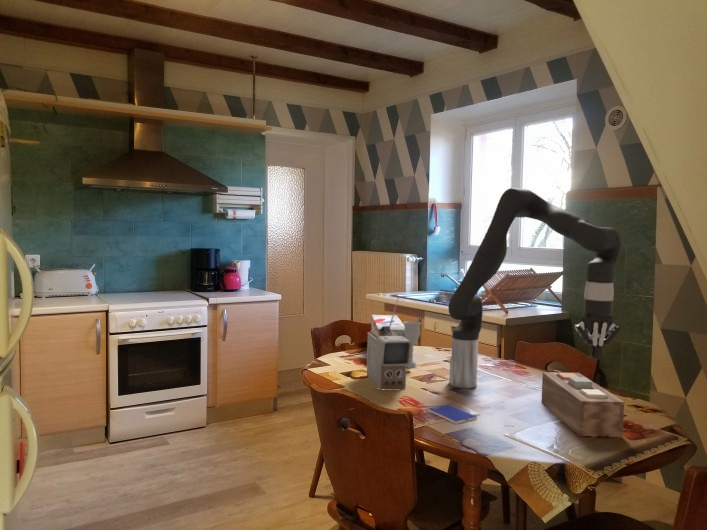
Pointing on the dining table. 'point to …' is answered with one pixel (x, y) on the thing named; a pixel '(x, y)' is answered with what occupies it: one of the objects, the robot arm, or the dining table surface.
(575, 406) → the keypad console
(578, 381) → the slate key
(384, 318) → the soda pack
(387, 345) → the portable television
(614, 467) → the dining table surface
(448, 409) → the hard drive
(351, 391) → the dining table surface
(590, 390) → the ivory key
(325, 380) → the dining table surface
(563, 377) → the terracotta key
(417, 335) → the chalice
